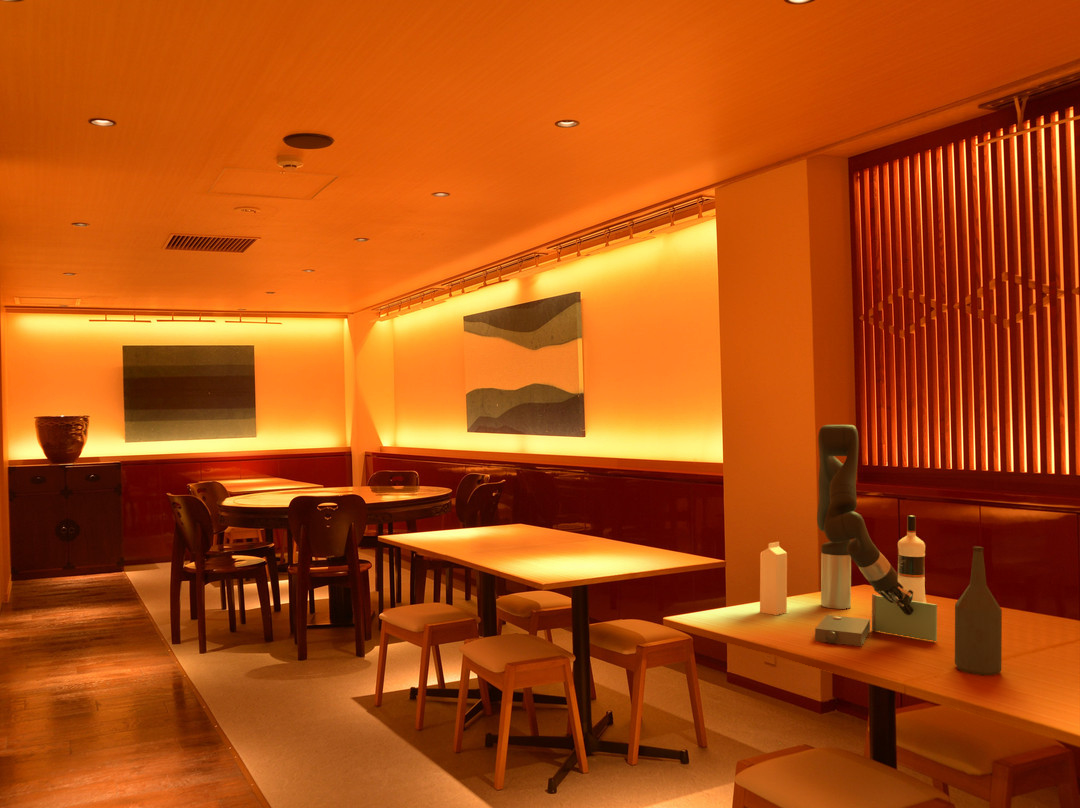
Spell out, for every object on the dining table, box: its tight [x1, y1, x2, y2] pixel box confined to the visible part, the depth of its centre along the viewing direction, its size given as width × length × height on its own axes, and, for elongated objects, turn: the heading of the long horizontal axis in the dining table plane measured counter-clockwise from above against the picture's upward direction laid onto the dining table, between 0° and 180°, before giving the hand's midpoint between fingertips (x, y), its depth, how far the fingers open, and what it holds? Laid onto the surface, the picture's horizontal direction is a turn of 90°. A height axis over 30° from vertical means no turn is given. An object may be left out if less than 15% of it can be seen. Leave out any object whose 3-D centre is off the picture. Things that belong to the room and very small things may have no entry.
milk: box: [759, 541, 788, 616], centre depth 281 cm, size 6×6×22 cm
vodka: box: [897, 515, 927, 603], centre depth 292 cm, size 9×9×30 cm
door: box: [871, 593, 938, 642], centre depth 251 cm, size 18×1×10 cm, turn 44°
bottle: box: [954, 546, 1003, 676], centre depth 218 cm, size 10×10×30 cm
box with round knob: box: [814, 614, 871, 647], centre depth 250 cm, size 22×12×4 cm, turn 154°
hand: (909, 612), depth 249 cm, fingers closed
